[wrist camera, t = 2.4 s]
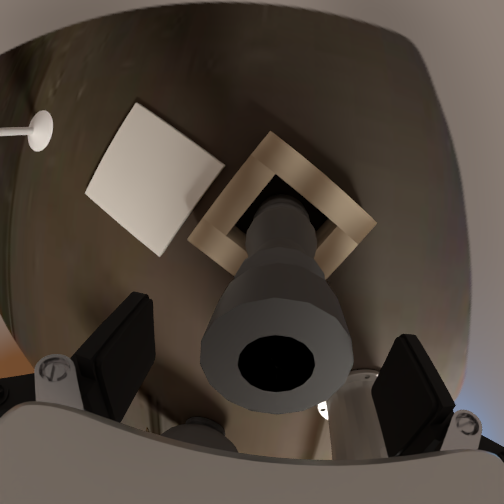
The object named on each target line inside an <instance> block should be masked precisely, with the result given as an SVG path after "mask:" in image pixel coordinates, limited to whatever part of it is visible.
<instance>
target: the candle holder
mask: <svg viewBox="0 0 504 504" xmlns="http://www.w3.org/2000/svg"><path fill="white" fill-rule="evenodd" d="M245 247H246V250H247V254H248V258H246V259H245V260H244V261H243V263H242V264H241V266H240V268H239V269H238V271H237V273H236V274H235V276H234V280H233V281H231V282H230V284H229V285H228V287H227V288H226V290H225V292H224V293H223V295H222V297H221V298H220V300H219V302H218V304H217V306H216V308H215V311H214V313H213V315H212V318H211V320H210V322H209V324H208V327H207V329H206V331H205V334H204V336H203V338H202V340H201V356H200V365H201V367H202V369H203V371H204V373H205V375H206V377H207V379H208V381H209V384H210V385H211V386H212V387H213V388H214V389H215V390H217V391H218V392H219V393H220V394H221V395H222V396H223V397H224V398H226V399H227V400H228V401H230V402H232V403H234V404H237V405H239V406H241V407H243V408H246V409H248V410H250V411H256V412H263V413H270V414H284V413H292V412H299V411H304V410H306V409H309V408H311V407H313V406H316V405H318V404H320V403H322V402H324V401H327V400H328V399H329V398H330V397H331V396H332V395H333V394H334V393H335V392H336V391H337V390H339V389H340V388H341V387H342V386H343V385H344V384H345V381H346V379H347V377H348V375H349V372H350V370H351V368H352V365H353V363H354V362H353V350H352V340H351V337H350V333H349V330H348V327H347V324H346V321H345V318H344V315H343V313H342V310H341V307H340V304H339V301H338V298H337V297H336V295H335V294H334V292H333V291H332V290H331V288H330V287H329V285H328V284H327V282H326V280H325V275H324V272H323V271H322V269H321V268H320V267H319V265H318V264H317V262H316V261H315V259H314V257H315V252H316V248H317V238H316V234H315V229H314V227H313V226H312V224H311V223H310V219H309V215H308V213H307V210H306V209H305V207H304V206H303V204H302V203H301V202H300V201H299V200H298V199H296V198H294V197H293V196H291V195H285V194H277V195H273V196H270V197H268V198H267V199H266V200H264V201H263V202H262V203H261V205H260V206H259V208H258V210H257V211H256V213H255V215H254V219H253V222H252V224H251V225H250V227H249V229H248V230H247V234H246V242H245Z"/></svg>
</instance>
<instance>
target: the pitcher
mask: <svg viewBox="0 0 504 504" xmlns="http://www.w3.org/2000/svg"><path fill="white" fill-rule="evenodd" d="M146 432H149V430H148V428H146ZM161 436H163V437H167V438H171V439H174V440H178V441H182V442H186V443H190V444H195V445H199V446H204V447H209V448H214V449H219V450H224V451H230V452H236V453H238V451H237V449H236V447H235V446H234V444H233V443H232V442H231V441H230V440H228V439H227V438H226V437H225V431H224V429H223V428H222V427H221V425H219V424H218V423H216V422H214V421H212V420H209V419H207V418H202V417H192V418H190V419H188V420H187V421H186V423H185V424H182V425H178V426H175V427H172V428H170V429H169V430H167V431H166V432H164V433H163V434H161Z"/></svg>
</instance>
